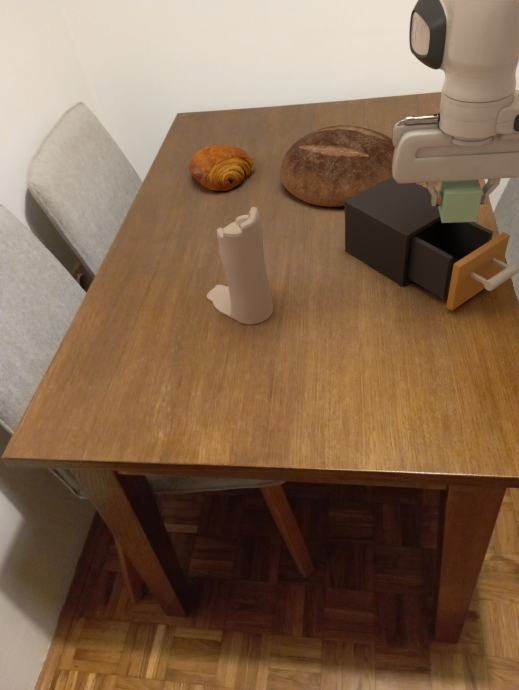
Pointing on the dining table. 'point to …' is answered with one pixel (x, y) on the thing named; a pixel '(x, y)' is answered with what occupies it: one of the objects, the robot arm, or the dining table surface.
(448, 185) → the block
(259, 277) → the candle
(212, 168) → the croissant
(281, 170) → the bread
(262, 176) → the dining table surface
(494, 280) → the drawer
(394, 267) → the cabinet
